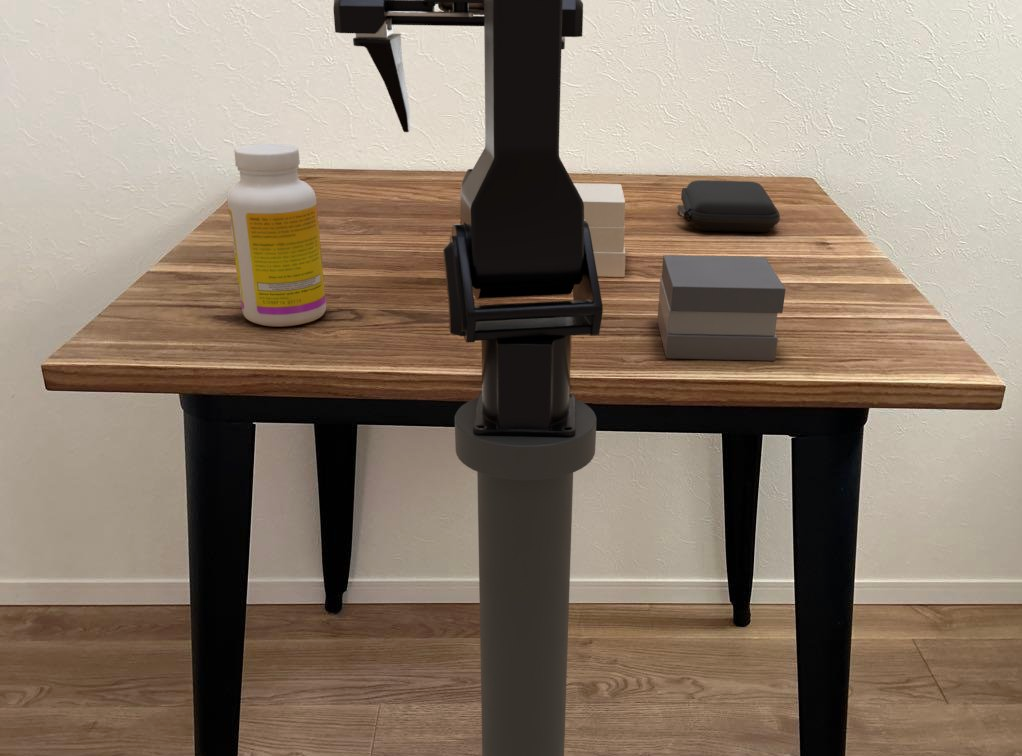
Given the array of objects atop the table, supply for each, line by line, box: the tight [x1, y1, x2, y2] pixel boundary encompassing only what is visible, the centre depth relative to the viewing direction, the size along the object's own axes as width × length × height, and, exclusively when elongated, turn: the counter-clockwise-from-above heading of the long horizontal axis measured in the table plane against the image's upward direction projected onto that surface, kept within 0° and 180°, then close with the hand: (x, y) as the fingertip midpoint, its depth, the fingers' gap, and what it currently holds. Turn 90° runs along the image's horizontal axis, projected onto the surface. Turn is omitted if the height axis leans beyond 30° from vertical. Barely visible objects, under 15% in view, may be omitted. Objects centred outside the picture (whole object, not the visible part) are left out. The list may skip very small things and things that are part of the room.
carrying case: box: [676, 179, 781, 233], centre depth 116 cm, size 11×3×15 cm
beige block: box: [589, 226, 627, 278], centre depth 99 cm, size 9×6×4 cm
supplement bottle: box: [226, 143, 327, 328], centre depth 82 cm, size 7×7×13 cm
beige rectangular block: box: [573, 182, 626, 227], centre depth 97 cm, size 8×6×2 cm
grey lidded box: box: [656, 254, 787, 362], centre depth 80 cm, size 9×8×5 cm
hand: (463, 132), depth 85 cm, fingers open, 9 cm apart
